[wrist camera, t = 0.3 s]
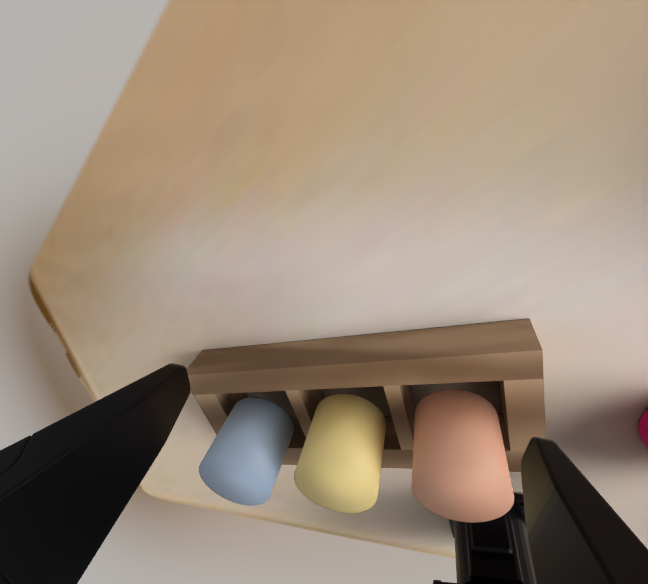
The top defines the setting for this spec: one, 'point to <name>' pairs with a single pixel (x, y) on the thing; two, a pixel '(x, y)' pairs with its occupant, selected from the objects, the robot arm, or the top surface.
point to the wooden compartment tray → (384, 378)
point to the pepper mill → (644, 428)
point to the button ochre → (342, 454)
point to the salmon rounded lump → (460, 458)
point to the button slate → (248, 452)
